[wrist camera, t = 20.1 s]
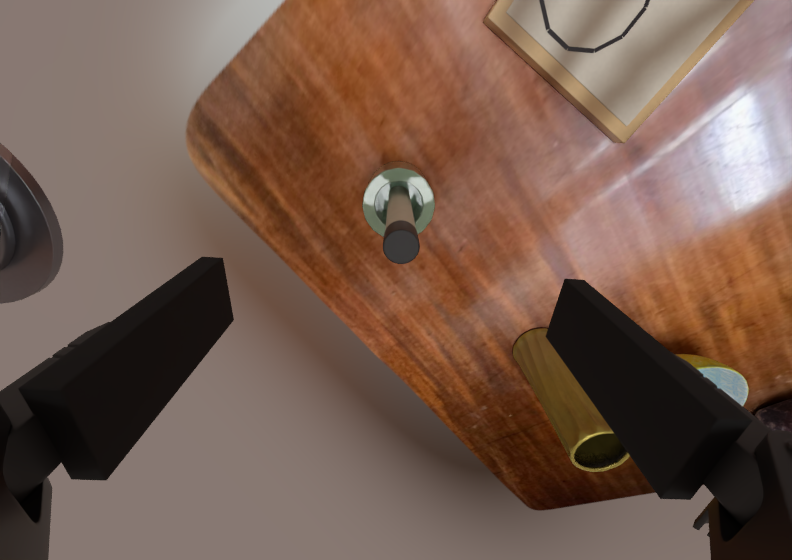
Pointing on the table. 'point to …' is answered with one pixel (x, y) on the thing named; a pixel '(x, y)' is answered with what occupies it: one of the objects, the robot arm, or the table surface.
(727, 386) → the bowl
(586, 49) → the sketch board
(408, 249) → the pen
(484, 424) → the table surface
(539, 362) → the vase
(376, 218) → the pencil pot
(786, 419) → the mineral specimen
